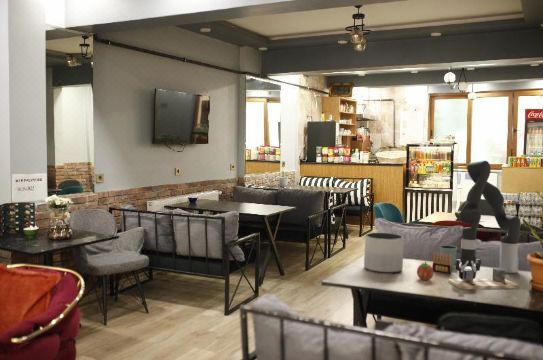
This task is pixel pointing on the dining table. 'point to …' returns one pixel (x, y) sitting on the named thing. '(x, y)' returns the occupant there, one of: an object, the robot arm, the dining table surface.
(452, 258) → the grey cup
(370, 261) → the planter
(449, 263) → the ammunition clip
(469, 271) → the slider
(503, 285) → the gauge board
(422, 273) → the fruit
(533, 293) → the dining table surface
